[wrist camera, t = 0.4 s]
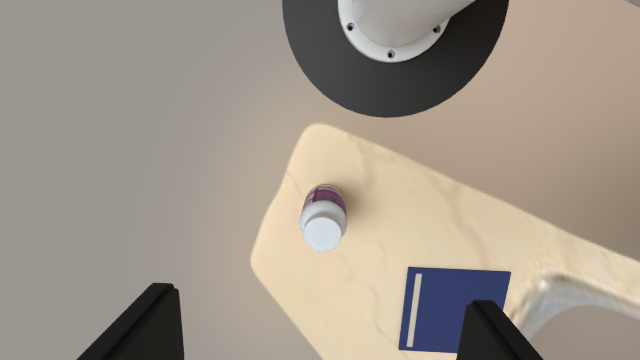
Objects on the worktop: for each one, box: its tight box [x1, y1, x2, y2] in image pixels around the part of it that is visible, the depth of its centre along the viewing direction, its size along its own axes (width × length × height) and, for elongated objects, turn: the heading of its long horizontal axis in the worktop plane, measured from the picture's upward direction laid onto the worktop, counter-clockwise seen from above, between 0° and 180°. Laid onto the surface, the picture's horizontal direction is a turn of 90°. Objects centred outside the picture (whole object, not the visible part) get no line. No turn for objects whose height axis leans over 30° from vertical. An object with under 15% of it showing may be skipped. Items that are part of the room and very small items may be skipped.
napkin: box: [399, 267, 511, 353], centre depth 44 cm, size 14×14×1 cm
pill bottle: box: [300, 185, 347, 252], centre depth 36 cm, size 5×5×10 cm
